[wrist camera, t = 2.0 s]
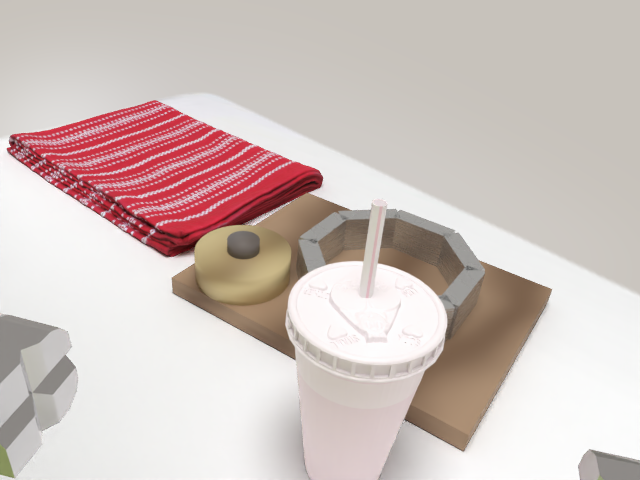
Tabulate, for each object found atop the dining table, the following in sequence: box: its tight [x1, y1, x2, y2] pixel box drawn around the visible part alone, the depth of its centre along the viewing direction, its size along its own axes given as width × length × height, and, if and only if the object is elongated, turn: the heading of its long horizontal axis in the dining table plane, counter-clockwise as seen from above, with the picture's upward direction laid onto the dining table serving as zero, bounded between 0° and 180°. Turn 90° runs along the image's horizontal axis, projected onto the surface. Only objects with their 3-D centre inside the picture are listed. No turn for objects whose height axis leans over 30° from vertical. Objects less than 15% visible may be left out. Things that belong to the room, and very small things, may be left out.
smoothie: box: [285, 199, 447, 480], centre depth 25 cm, size 6×6×14 cm
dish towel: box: [7, 100, 323, 257], centre depth 52 cm, size 17×24×3 cm
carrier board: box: [172, 193, 552, 451], centre depth 38 cm, size 20×15×4 cm
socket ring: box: [296, 209, 485, 342], centre depth 38 cm, size 11×11×2 cm
